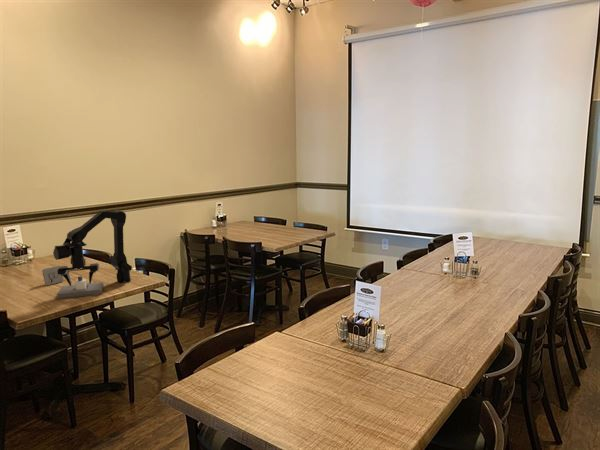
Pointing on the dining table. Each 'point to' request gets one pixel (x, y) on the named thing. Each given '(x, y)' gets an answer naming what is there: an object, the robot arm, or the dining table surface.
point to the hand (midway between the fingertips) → (80, 284)
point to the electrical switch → (52, 275)
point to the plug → (80, 283)
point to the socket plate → (72, 292)
